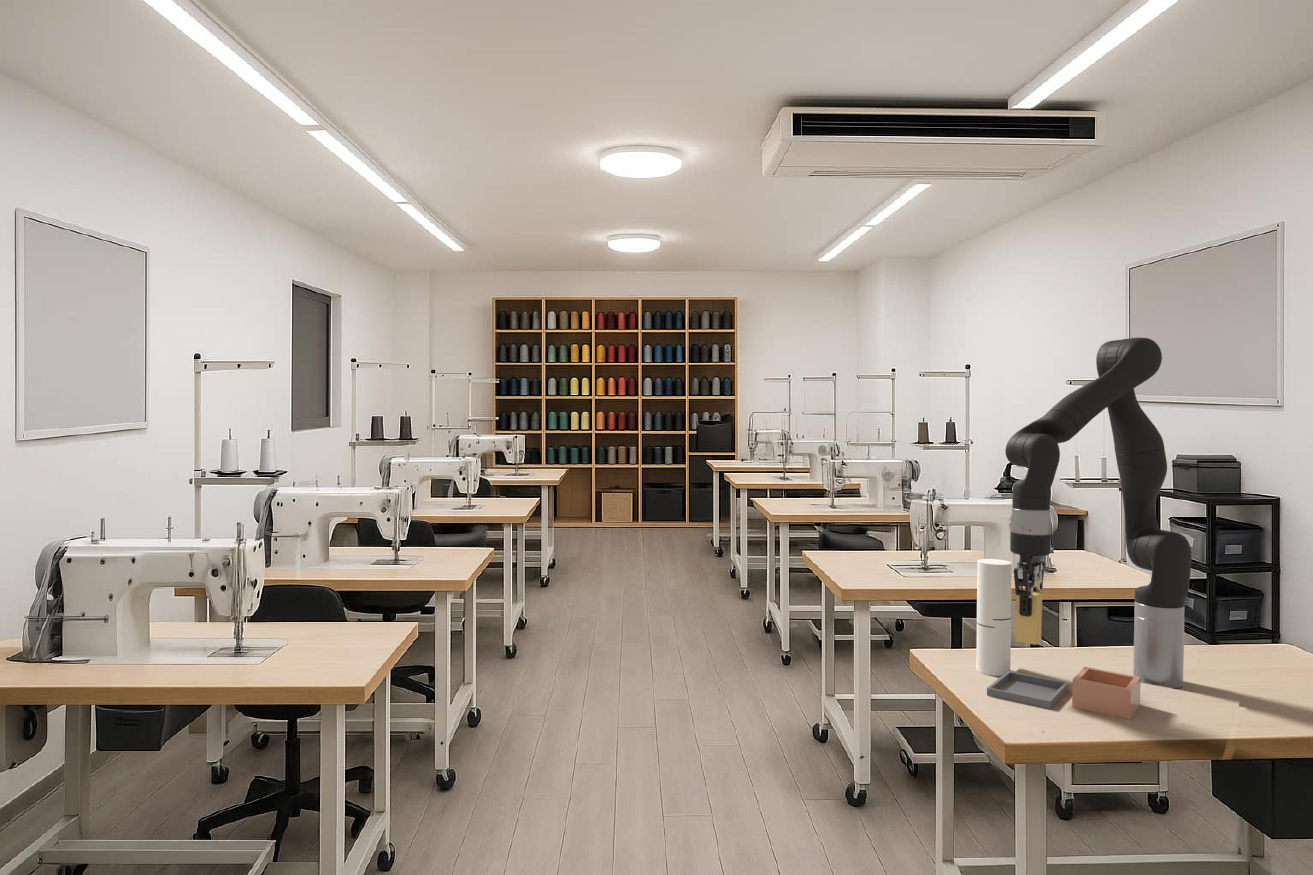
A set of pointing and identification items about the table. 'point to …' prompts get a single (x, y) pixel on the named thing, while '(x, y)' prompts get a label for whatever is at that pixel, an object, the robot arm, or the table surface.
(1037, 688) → the grey tray
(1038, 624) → the ochre block
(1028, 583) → the robot arm
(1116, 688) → the terracotta storage bin
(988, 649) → the cylindrical container
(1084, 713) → the table surface
